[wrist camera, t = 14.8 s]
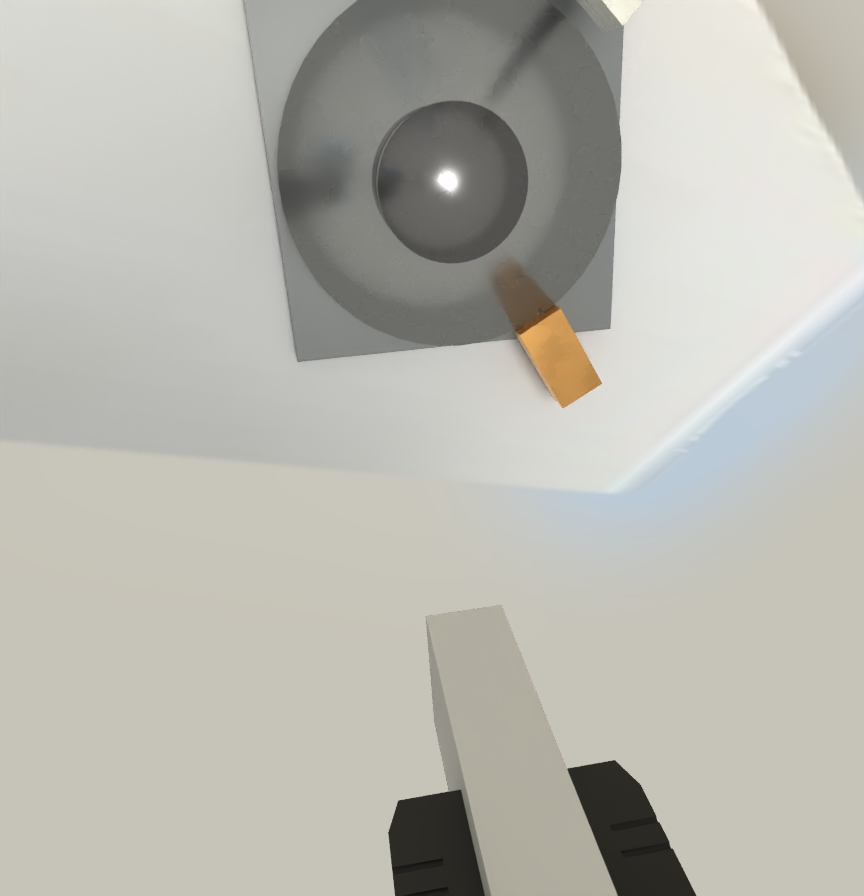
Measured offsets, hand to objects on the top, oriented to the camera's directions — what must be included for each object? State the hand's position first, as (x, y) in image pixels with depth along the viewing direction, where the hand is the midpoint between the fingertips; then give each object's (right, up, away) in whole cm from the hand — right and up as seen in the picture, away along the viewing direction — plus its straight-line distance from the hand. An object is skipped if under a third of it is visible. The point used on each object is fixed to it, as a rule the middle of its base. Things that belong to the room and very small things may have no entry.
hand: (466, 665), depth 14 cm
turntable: (+2, +18, +29) cm, 34 cm away
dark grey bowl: (0, +20, +26) cm, 33 cm away
